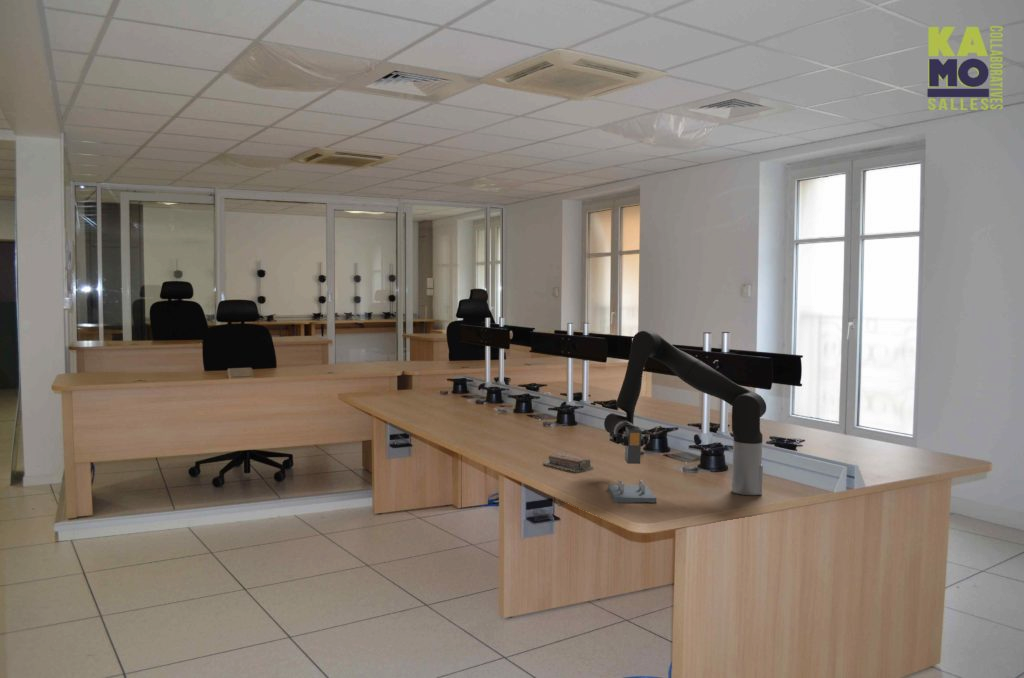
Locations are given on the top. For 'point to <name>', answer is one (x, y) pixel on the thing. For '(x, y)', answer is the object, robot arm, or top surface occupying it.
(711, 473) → the top surface
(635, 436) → the block
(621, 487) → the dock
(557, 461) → the packaged product
